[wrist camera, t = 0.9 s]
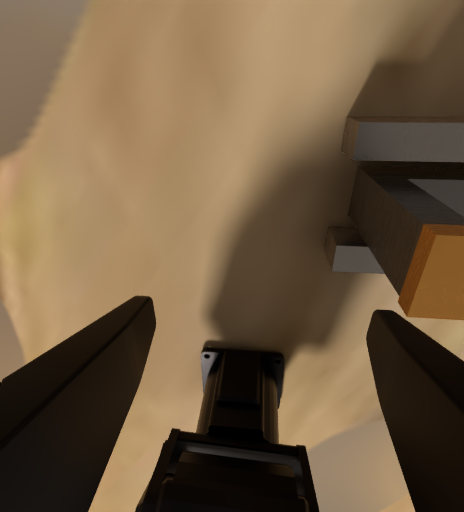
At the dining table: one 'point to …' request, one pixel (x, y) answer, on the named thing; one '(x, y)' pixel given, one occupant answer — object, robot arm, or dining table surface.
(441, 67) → the dining table surface
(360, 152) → the socket
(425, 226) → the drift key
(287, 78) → the dining table surface
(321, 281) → the dining table surface
